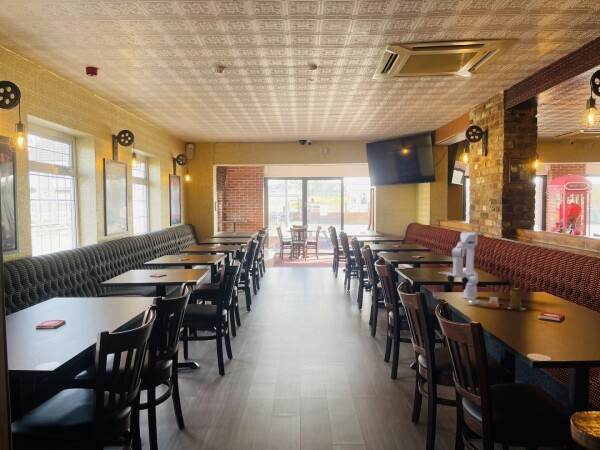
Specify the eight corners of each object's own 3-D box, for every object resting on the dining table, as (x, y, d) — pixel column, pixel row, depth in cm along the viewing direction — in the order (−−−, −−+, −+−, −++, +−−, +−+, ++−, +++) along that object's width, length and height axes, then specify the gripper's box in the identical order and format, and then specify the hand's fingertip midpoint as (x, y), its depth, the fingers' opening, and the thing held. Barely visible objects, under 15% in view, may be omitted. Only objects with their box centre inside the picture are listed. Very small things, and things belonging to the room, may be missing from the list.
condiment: (512, 306, 264) (512, 287, 263) (526, 309, 257) (526, 289, 257) (506, 308, 259) (506, 288, 259) (521, 311, 252) (521, 290, 252)
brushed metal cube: (496, 303, 271) (496, 297, 271) (497, 305, 267) (498, 298, 267) (489, 303, 272) (489, 297, 272) (491, 305, 268) (491, 298, 268)
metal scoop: (466, 304, 271) (466, 297, 271) (470, 302, 277) (470, 295, 277) (496, 308, 260) (496, 301, 259) (500, 306, 265) (500, 299, 265)
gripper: (444, 266, 271) (443, 288, 272) (466, 269, 261) (466, 291, 261) (449, 265, 276) (449, 286, 277) (471, 267, 265) (471, 289, 266)
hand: (457, 288), depth 269 cm, fingers open, 7 cm apart
